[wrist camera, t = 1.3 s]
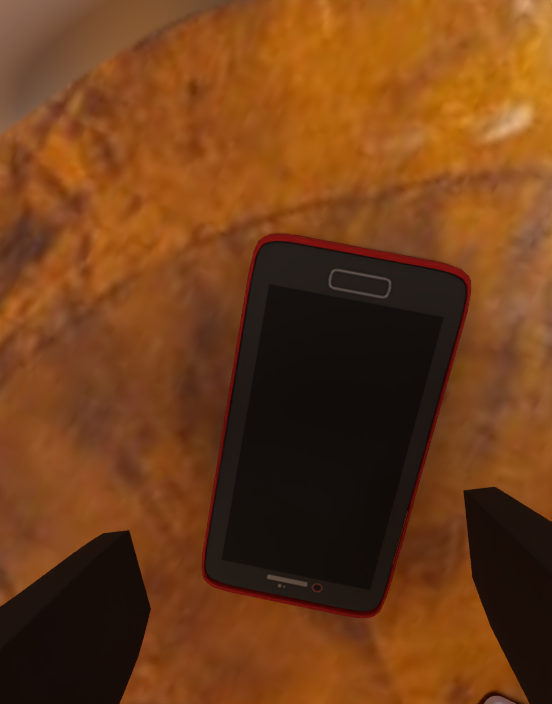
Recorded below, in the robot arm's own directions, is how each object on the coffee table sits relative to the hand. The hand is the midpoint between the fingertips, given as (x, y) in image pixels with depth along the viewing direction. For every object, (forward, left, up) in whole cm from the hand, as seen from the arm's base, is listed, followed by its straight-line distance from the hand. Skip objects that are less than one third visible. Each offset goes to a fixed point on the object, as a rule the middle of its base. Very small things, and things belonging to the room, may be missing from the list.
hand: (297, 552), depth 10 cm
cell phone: (-1, +1, -9) cm, 9 cm away
